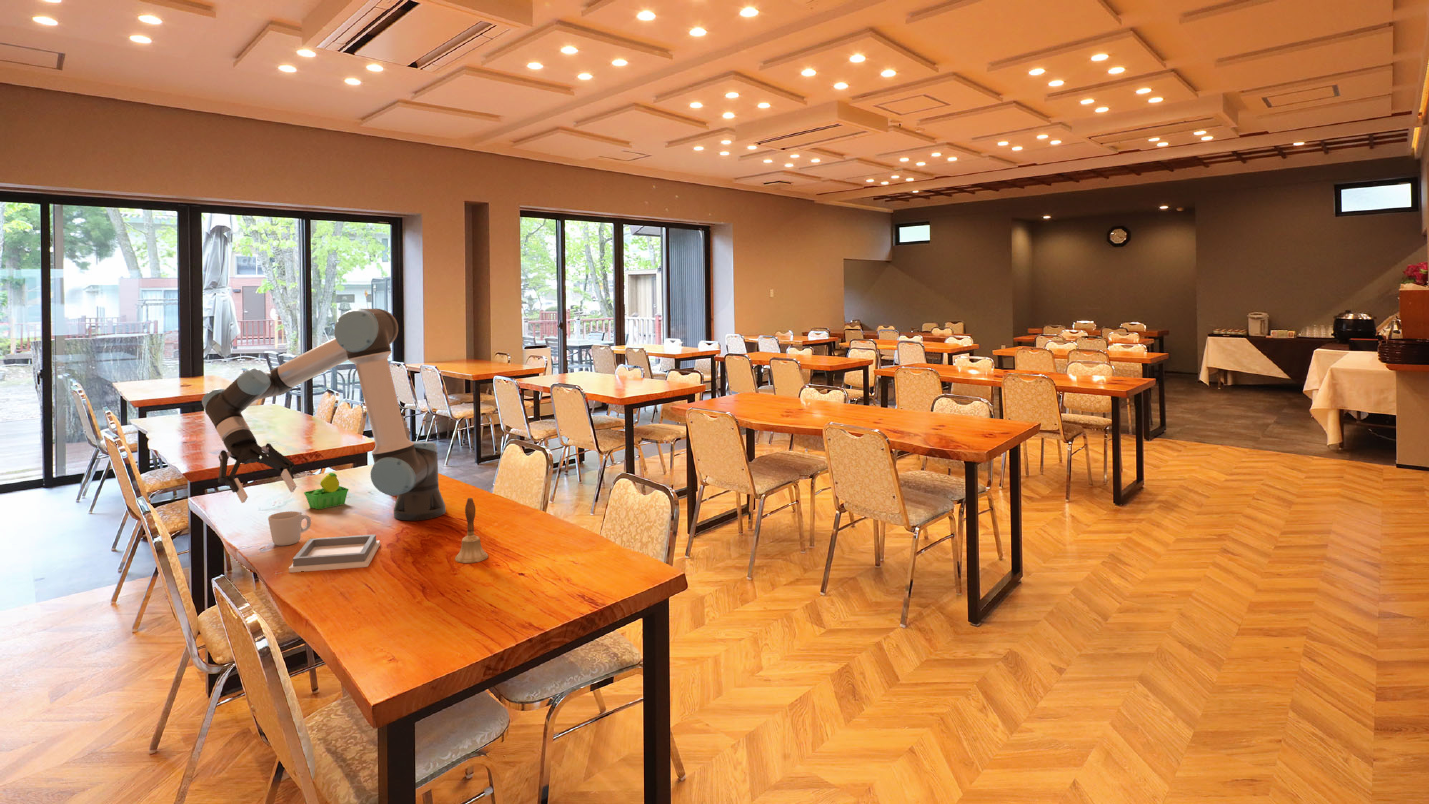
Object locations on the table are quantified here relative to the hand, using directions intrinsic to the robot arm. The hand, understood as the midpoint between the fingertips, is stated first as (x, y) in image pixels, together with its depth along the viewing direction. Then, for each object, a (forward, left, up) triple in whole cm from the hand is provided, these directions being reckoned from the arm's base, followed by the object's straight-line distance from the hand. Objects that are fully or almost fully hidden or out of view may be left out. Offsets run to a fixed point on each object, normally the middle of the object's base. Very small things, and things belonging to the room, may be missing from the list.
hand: (270, 494), depth 216 cm
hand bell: (-55, +31, -13) cm, 64 cm away
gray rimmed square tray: (-21, +23, -12) cm, 33 cm away
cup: (-6, +6, -13) cm, 15 cm away
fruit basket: (-7, -32, -13) cm, 36 cm away
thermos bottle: (-27, -45, -13) cm, 54 cm away
